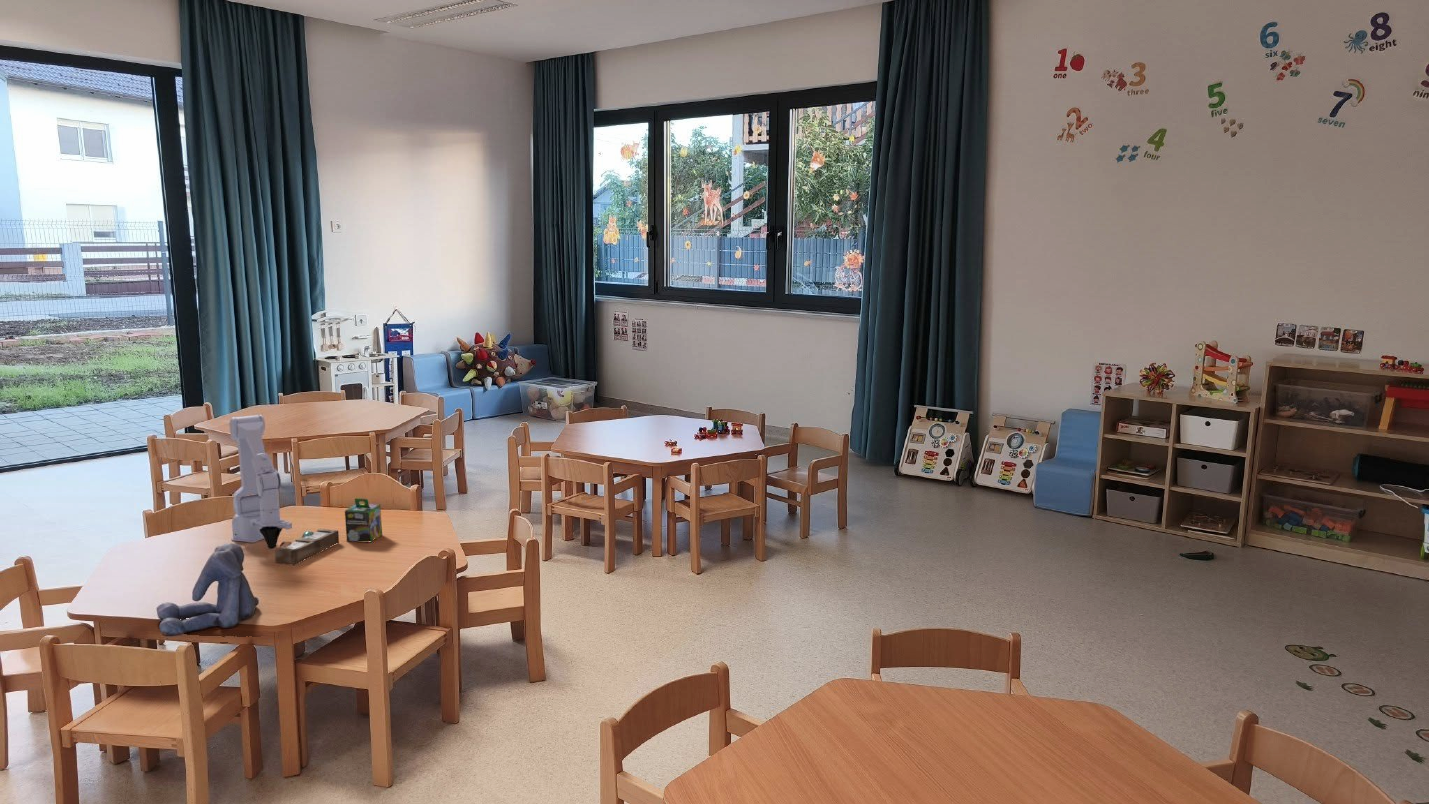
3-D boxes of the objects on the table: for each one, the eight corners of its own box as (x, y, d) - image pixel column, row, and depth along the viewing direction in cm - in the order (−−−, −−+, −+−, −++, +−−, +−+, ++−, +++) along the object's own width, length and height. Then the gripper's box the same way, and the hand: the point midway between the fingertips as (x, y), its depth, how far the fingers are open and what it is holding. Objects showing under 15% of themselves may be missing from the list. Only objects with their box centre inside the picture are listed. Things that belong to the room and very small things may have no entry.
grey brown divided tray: (275, 562, 298) (274, 549, 297) (320, 541, 320) (320, 528, 319) (294, 565, 297) (293, 551, 296) (338, 543, 318) (338, 530, 318)
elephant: (159, 612, 257) (153, 542, 254) (258, 599, 268) (254, 531, 265) (152, 641, 239) (146, 565, 236) (259, 625, 250) (255, 553, 247)
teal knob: (299, 547, 311) (299, 534, 311) (312, 541, 318) (312, 528, 317) (317, 549, 310) (317, 536, 309) (330, 543, 316) (330, 530, 316)
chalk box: (382, 535, 329) (381, 494, 326) (370, 543, 320) (369, 502, 317) (358, 533, 330) (356, 493, 327) (345, 541, 321) (343, 500, 318)
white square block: (277, 558, 301) (276, 544, 300) (291, 552, 307) (290, 538, 306) (295, 560, 299) (294, 546, 298) (309, 554, 306) (308, 540, 305)
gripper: (242, 509, 300) (244, 549, 302) (280, 513, 297) (283, 554, 299) (257, 503, 307) (259, 542, 309) (295, 507, 304) (297, 547, 306)
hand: (272, 548), depth 305 cm, fingers closed
